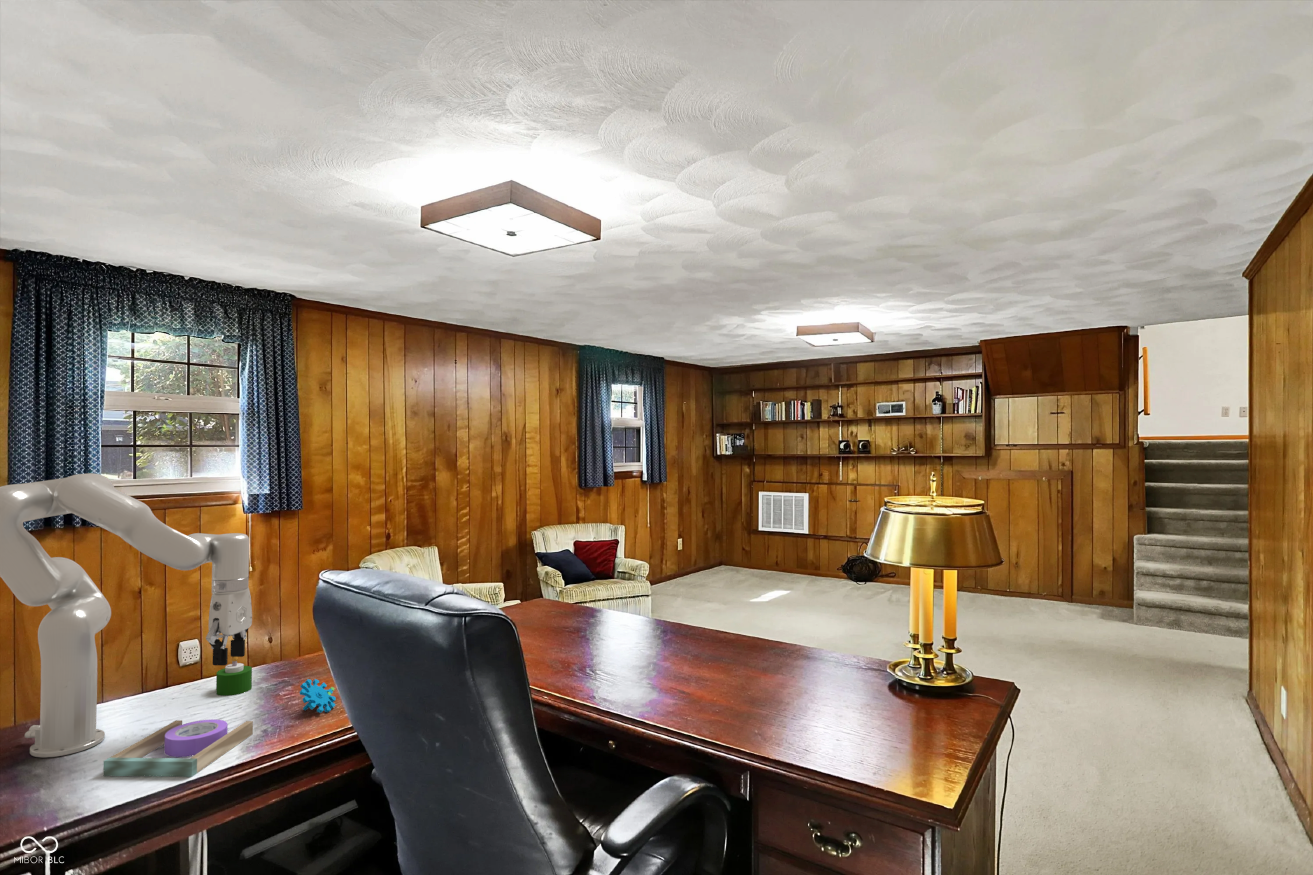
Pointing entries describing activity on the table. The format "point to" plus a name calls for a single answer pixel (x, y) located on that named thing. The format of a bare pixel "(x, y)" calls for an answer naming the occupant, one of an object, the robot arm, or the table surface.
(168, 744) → the masking tape
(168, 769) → the bay
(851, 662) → the table surface
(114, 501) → the robot arm
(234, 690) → the candle
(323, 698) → the gear
